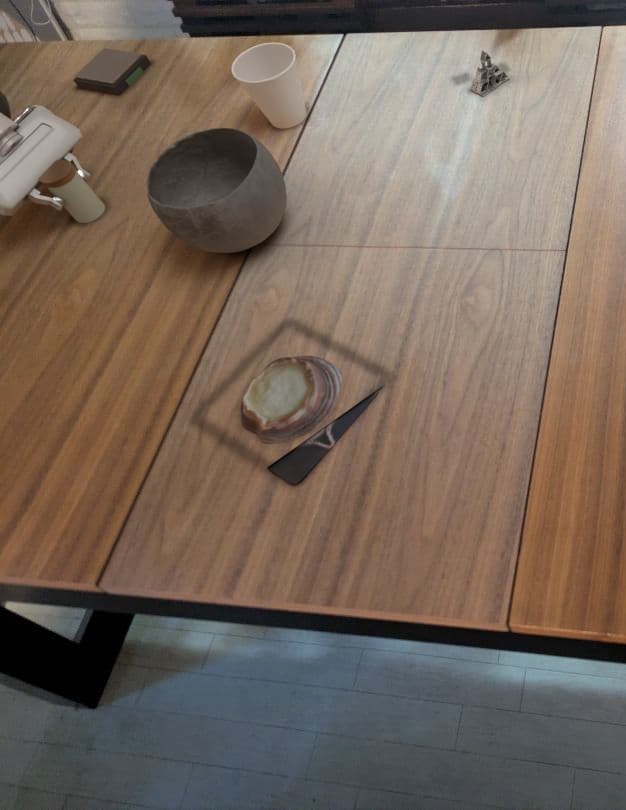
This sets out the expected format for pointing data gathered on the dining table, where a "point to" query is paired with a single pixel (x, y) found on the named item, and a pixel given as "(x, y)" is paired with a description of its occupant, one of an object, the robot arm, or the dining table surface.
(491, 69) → the stone castle ruin model
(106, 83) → the scale
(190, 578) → the dining table surface
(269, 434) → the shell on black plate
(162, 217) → the bowl
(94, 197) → the jar
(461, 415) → the dining table surface
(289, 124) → the cup
